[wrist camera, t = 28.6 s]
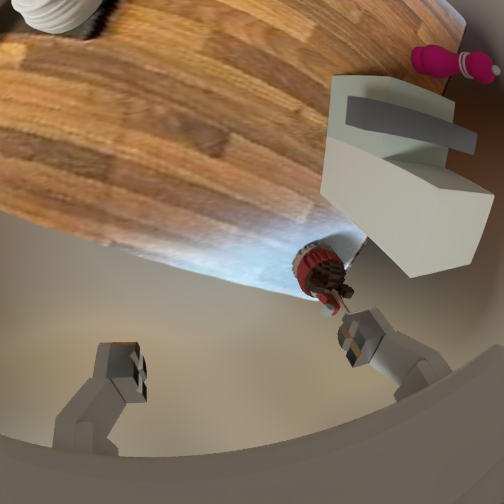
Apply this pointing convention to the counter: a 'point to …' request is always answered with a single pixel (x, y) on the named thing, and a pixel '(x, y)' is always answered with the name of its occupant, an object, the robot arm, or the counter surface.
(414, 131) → the gray rectangular bar
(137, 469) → the robot arm
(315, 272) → the cake
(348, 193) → the step stand
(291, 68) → the counter surface
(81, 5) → the honey pot
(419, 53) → the pepper mill
